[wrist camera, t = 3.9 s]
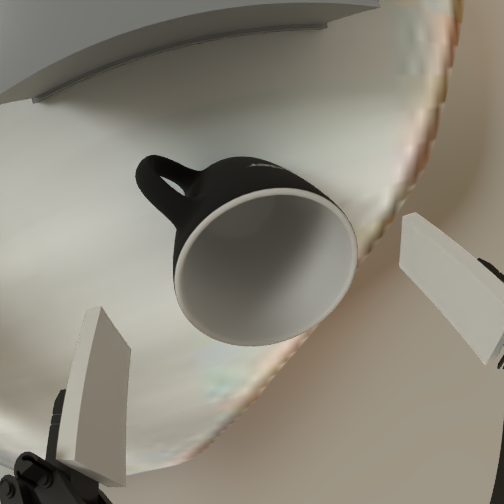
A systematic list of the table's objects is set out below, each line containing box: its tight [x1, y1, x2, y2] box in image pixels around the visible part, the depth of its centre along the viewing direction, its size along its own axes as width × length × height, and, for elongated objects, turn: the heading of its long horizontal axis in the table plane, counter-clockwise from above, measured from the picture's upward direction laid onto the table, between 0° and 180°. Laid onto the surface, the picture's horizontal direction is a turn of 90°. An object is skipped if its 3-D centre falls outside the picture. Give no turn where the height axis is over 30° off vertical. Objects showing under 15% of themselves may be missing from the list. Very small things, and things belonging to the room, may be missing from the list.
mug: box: [135, 155, 358, 346], centre depth 17 cm, size 12×9×10 cm
